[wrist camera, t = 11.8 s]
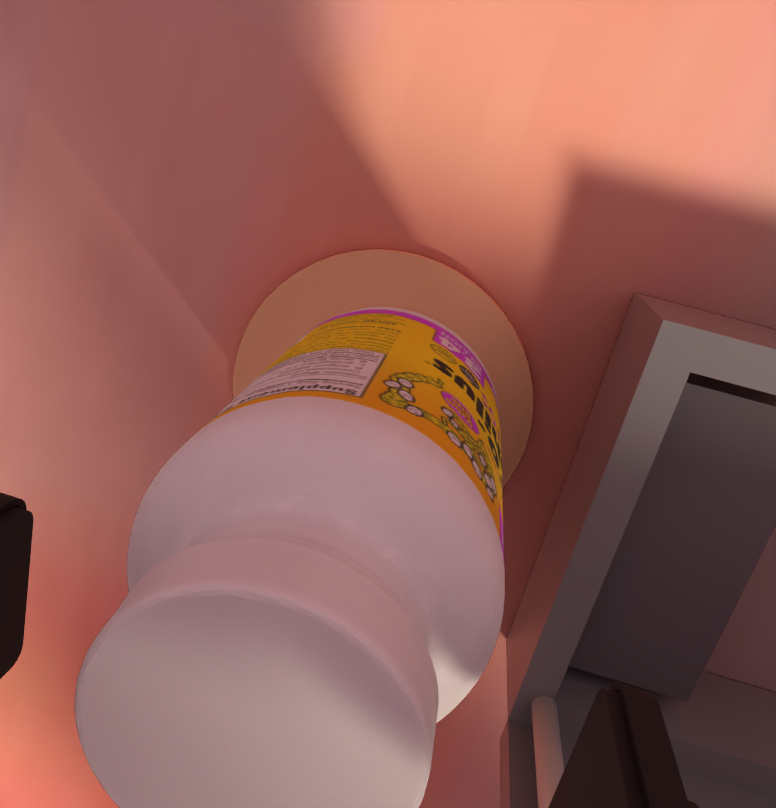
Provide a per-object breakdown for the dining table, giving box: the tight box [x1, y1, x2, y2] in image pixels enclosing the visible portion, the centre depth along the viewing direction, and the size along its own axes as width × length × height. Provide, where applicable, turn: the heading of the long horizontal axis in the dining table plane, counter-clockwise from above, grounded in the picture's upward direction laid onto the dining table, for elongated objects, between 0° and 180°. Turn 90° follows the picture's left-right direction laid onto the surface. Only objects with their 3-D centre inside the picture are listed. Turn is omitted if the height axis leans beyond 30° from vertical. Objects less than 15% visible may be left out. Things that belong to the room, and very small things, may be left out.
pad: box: [233, 249, 533, 487], centre depth 21 cm, size 9×9×1 cm
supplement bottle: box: [75, 307, 505, 808], centre depth 15 cm, size 7×7×13 cm
